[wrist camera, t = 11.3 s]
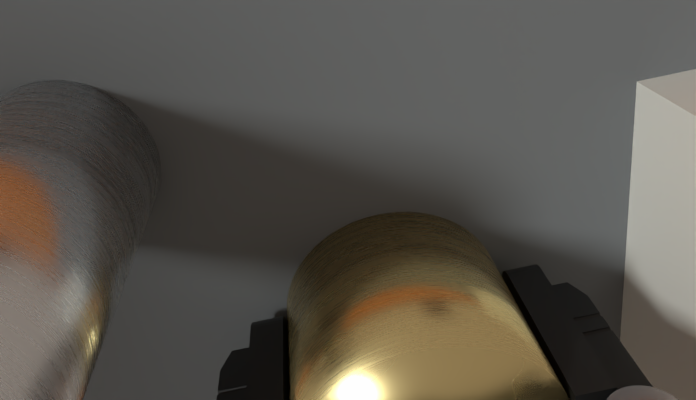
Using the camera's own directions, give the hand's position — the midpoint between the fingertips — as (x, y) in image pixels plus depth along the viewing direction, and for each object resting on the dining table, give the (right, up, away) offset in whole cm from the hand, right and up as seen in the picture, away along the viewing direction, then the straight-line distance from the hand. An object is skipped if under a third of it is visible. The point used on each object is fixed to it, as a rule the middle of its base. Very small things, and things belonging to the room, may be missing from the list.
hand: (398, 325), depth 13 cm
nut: (0, 0, 0) cm, 0 cm away
